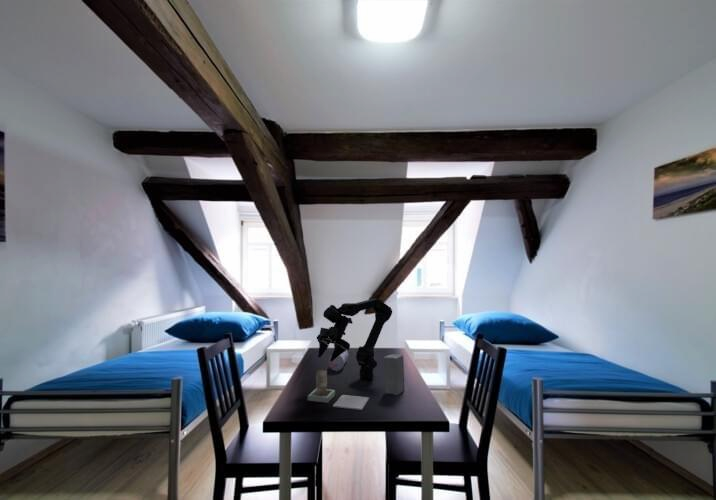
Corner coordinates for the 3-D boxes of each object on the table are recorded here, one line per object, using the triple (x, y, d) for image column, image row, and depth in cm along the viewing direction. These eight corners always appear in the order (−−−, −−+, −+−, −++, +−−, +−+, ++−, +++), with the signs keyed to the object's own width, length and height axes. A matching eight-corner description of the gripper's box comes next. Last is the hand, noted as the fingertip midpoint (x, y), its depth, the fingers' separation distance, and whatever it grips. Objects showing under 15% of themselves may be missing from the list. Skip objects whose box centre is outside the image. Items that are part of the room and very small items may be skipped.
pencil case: (334, 361, 201) (334, 345, 202) (348, 361, 200) (348, 345, 201) (328, 372, 180) (328, 354, 181) (344, 372, 180) (343, 354, 180)
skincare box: (397, 396, 145) (397, 359, 146) (382, 393, 149) (382, 356, 150) (405, 390, 152) (405, 354, 153) (391, 387, 156) (391, 352, 157)
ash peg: (328, 396, 146) (328, 370, 146) (324, 400, 141) (324, 373, 142) (318, 395, 147) (318, 369, 147) (314, 399, 142) (314, 372, 143)
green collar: (335, 394, 147) (335, 390, 147) (327, 402, 138) (327, 397, 139) (316, 392, 150) (316, 388, 150) (307, 400, 141) (307, 395, 141)
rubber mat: (369, 398, 142) (369, 397, 142) (361, 410, 131) (361, 408, 131) (342, 395, 146) (342, 394, 146) (332, 406, 134) (332, 405, 134)
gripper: (316, 317, 161) (300, 348, 154) (340, 322, 147) (324, 355, 140) (331, 328, 167) (317, 358, 160) (356, 333, 153) (342, 366, 146)
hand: (324, 359), depth 152 cm, fingers open, 9 cm apart
